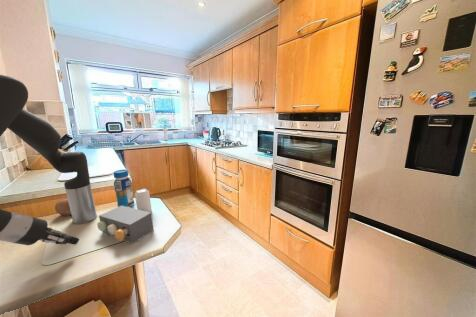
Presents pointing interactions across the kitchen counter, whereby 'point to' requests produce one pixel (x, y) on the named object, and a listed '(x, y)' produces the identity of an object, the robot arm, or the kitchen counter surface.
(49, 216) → the kitchen counter surface
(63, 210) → the onion
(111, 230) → the button cream
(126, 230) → the button orange
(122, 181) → the beverage bottle
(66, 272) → the kitchen counter surface
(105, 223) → the button green
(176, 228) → the kitchen counter surface
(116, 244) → the kitchen counter surface
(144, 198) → the can
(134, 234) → the control box
